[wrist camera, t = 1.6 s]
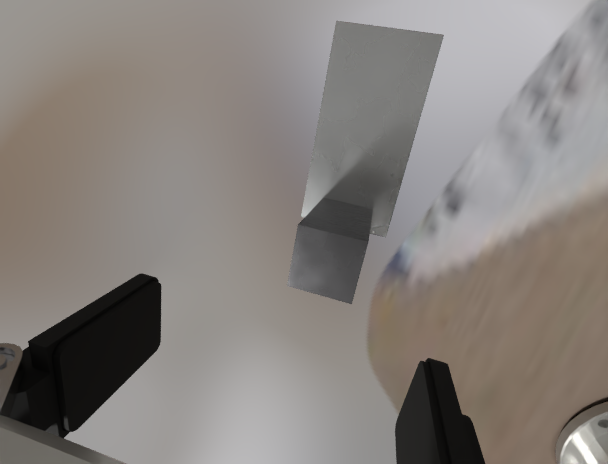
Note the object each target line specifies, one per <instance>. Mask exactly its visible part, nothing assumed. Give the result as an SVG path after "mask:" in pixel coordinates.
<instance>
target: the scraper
mask: <svg viewBox="0 0 608 464" xmlns="http://www.w3.org/2000/svg"><path fill="white" fill-rule="evenodd" d="M443 36H444V35H441V34H433V33H425V32H418V31H410V30H402V29H394V28H387V27H379V26H372V25H364V24H356V23H348V22H341V21H336V26H335V31H334V37H333V43H332V48H331V53H330V60H329V65H328V70H327V76H326V81H325V87H324V92H323V98H322V103H321V109H320V114H319V120H318V126H317V131H316V137H315V142H314V148H313V154H312V159H311V164H310V170H309V176H308V181H307V187H306V192H305V198H304V203H303V209H302V214H301V217H304V219H303V220H302V221H301V222H300V223H299V224H298V228H297V234H296V239H295V245H294V251H293V256H292V262H291V268H290V273H289V279H288V284H287V286H290V287H293V288H297V289H300V290H304V291H307V292H311V293H315V294H318V295H322V296H325V297H329V298H332V299H335V300H339V301H342V302H346V303H349V304H352V301H353V297H354V293H355V290H356V286H357V282H358V278H359V274H360V271H361V267H362V263H363V260H364V256H365V252H366V248H367V244H368V240H369V234H374V235H378V236H382V237H386V235H387V231H388V228H389V224H390V221H391V217H392V214H393V210H394V207H395V204H396V200H397V196H398V193H399V190H400V186H401V183H402V179H403V176H404V172H405V169H406V165H407V162H408V158H409V155H410V151H411V148H412V144H413V140H414V137H415V134H416V130H417V127H418V123H419V120H420V116H421V112H422V109H423V106H424V102H425V99H426V95H427V92H428V88H429V84H430V81H431V78H432V74H433V71H434V67H435V63H436V60H437V57H438V53H439V50H440V46H441V43H442V39H443Z"/></svg>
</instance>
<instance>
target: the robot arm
mask: <svg viewBox="0 0 608 464" xmlns="http://www.w3.org/2000/svg"><path fill="white" fill-rule="evenodd" d="M160 338H161V284H160V283H158V279H157V278H156V277H152V276H149V275H146V274H139V275H137V276H135V277H134V278H132V279H130V280H128V281H127V282H125V283H124V284H122V285H121V286H119V287H117V288H115V289H114V290H112V291H110V292H109V293H107V294H106V295H104V296H102V297H100V298H99V299H97V300H95V301H94V302H92V303H91V304H89V305H87V306H86V307H84V308H83V309H81V310H79V311H77V312H76V313H74V314H72V315H71V316H69V317H67V318H66V319H64V320H62V321H61V322H60V323H58V324H56V325H54V326H53V327H51V328H49V329H48V330H46V331H45V332H43V333H41V334H39V335H38V336H36V337H34V338H33V339H31V340H30V341H28V343H29V347H28V348H26V349H24V350H23V351H22V349H21V348H20V347H19V346H17V345H15V344H9V343H0V464H126V463H124V462H121V461H118V460H116V459H114V458H111V457H108V456H106V455H104V454H101V453H99V452H96V451H94V450H91V449H89V448H86V447H83V446H81V445H79V444H76V443H73V442H71V441H68V440H66V439H64V437H65V436H66V435H67V434H68V433H69V432H70V431H71V432H73V431H75V430H77V429H78V428H79V427H80V426H81V425H82V424H83V423H84V422H85V421H86V420H87V419H88V418H89V417H90V416H91V415H92V414H93V413H94V412H95V411H96V410H97V409H98V408H99V407H100V406H101V405H102V404H103V403H104V402H105V401H106V400H107V399H108V398H110V397H111V395H113V393H114V392H116V391H117V390H118V388H119V387H121V386H122V385H123V384H124V383H125V381H127V380H128V379H129V378H130V377H131V376H132V375H133V374H134V373H135V372H136V371H137V369H139V368H140V367H141V366H142V365H143V364H144V363H145V362H146V361H147V360H148V359H149V358H150V357H151V356H152V355H153V354H154V353H155V352H156V351H157V349H158V347H159V345H160V340H161V339H160ZM395 436H396V458H397V464H485V461H484V458H483V455H482V452H481V448H480V445H479V442H478V439H477V435H476V432H475V429H474V426H473V423H472V421H471V419H470V418H469V417H468V416H466V415H462V413H461V409H460V406H459V402H458V399H457V395H456V392H455V388H454V384H453V381H452V377H451V374H450V370H449V367H448V364H446V363H444V362H440V361H437V360H434V359H430V358H428V359H427V360H426V362H424V361H420V362H419V364H418V367H417V369H416V372H415V375H414V377H413V380H412V382H411V385H410V388H409V390H408V393H407V395H406V398H405V400H404V403H403V406H402V408H401V411H400V413H399V416H398V418H397V422H396V428H395ZM555 454H556V461H557V464H608V401H607V402H604V403H602V404H599V405H596V406H593V407H591V408H589V409H588V410H586V411H584V412H582V413H580V414H579V415H578V416H576V417H575V418H574V419H572V420H571V421H570V422H569V423H568V424H567V426H566V427H565V428H564V429H563V430H562V432H561V434H560V436H559V438H558V440H557V444H556V450H555Z"/></svg>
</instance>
